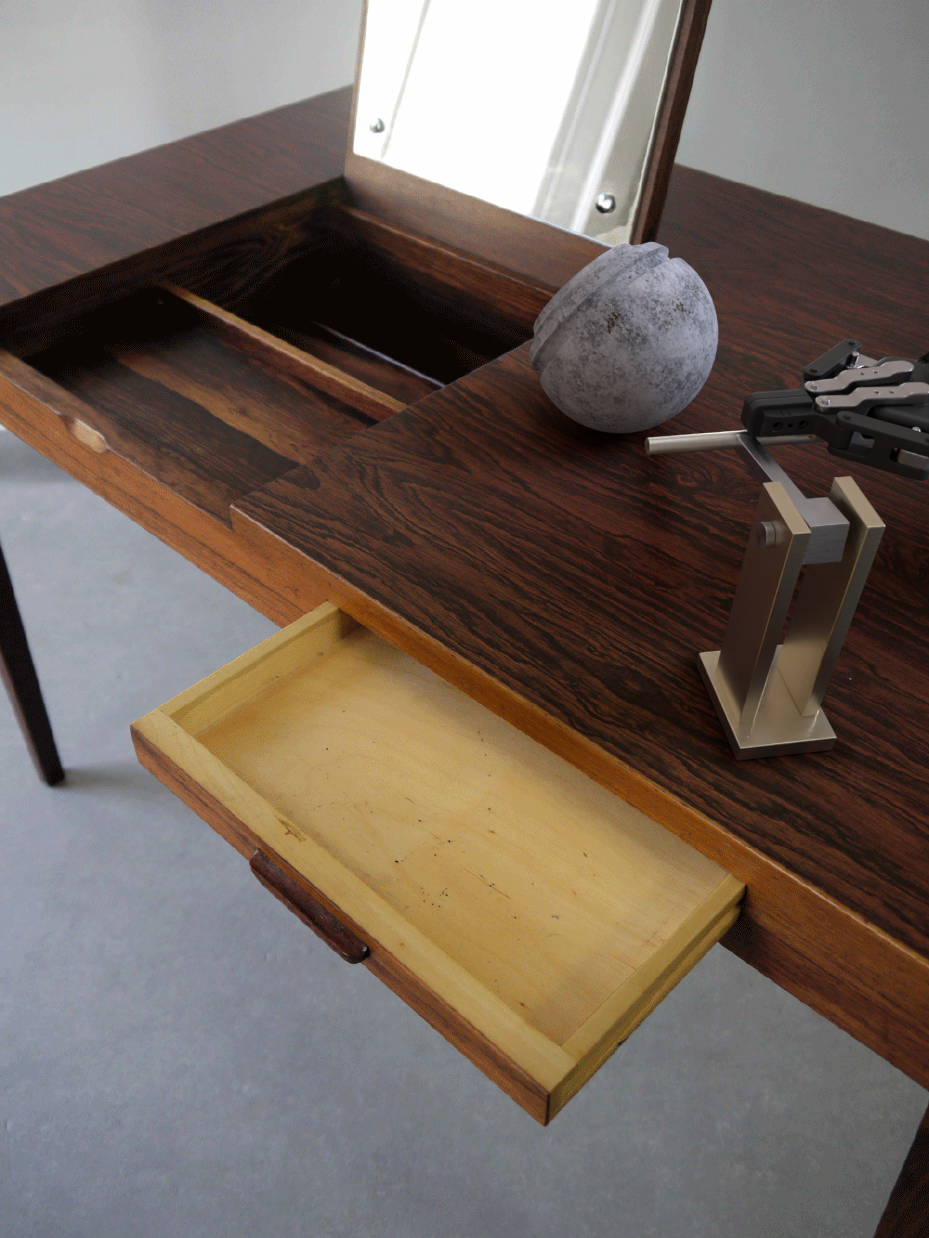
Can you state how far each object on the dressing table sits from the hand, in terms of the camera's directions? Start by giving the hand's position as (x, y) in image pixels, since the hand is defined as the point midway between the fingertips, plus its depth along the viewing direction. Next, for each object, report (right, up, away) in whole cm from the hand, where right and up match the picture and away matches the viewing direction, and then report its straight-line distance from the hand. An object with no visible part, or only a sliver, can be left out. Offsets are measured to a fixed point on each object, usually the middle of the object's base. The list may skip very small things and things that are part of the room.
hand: (747, 415), depth 64 cm
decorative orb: (-4, +4, +26) cm, 26 cm away
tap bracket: (+1, -18, +2) cm, 18 cm away
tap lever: (+1, -6, -3) cm, 6 cm away
